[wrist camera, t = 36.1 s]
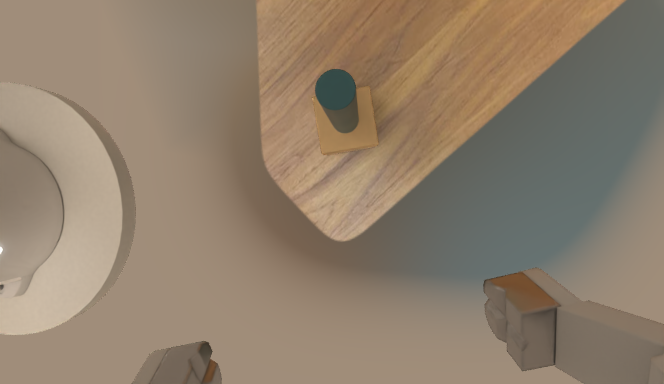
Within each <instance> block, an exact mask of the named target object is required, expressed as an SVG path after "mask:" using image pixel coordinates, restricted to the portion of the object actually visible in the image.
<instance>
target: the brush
mask: <svg viewBox="0 0 664 384" xmlns="http://www.w3.org/2000/svg"><path fill="white" fill-rule="evenodd" d="M315 94H316V96H313V97H312V99H313V105H314V111H315V117H316V123H317V129H318V135H319V141H320V148H321V153H322V154H323V155H333V154H339V153H345V152H351V151H356V150H362V149H368V148H374V147H376V146H378V144H379V141H378V135H377V129H376V122H375V116H374V110H373V104H372V98H371V91H370V86H365V87H360V88H356V85H355V82H354V79H353V78H352V76H351V75H350V74H349V73H347V72H346V71H344V70H340V69H332V70H329V71H327V72H325V73H323V74H322V75H321V76H320V78H319V79H318V81H317V83H316V87H315Z"/></svg>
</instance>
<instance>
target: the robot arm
mask: <svg viewBox="0 0 664 384" xmlns="http://www.w3.org/2000/svg"><path fill="white" fill-rule="evenodd" d="M62 226H63V203H62V198H61V194H60V191H59V188H58V185H57V183H56V181H55V179H54V177H53V175H52V174H51V172H50V171H49V169H48V168H47V167H46V166H45V164H44V163H43V162H42V161H41V160H40V159H38V158H37V157H36V156H35V155H33V154H32V153H30V152H29V151H27V150H25V149H23V148H21V147H19V146H17V145H16V144H14V143H13V142H12V141H11V140H10V139H9V138H8V136H7V135H6V134H5V133H4V132H3V131H2V130H1V129H0V297H2V298H12V297H17V296H21V295H23V294H24V293H25V292H26V290H27V289H28V287H29V284H30V282H31V280H32V277H33V274H34V272H35V271H36V270H37V269H38V267H39V266H41V265H42V264H43V263H44V262H45V261H46V260H47V258H48V257H49V256H50V255H51V253H52V252H53V250H54V249H55V247H56V245H57V243H58V240H59V238H60V235H61V231H62ZM483 286H484V293H485V294H486V295H487V297H488V298H489V299H488V300H487V302H486V303H485V314H486V318H487V321H488V324H489V326H490V328H491V329H492V332H493V333H494V334H495V336H496V337H497V338H498V339H500V340H502V341H504V342H506V343H507V352H508V353H509V354H510V356H511V357H512V358H513V359H514V361H515V362H516V363H517V365H518V366H519V367H520V369H521V370H522V371H526V370H532V369H537V368H542V367H548V366H553V365H555V367H557V368H558V369H560V370H562V371H563V372H565V373H567V374H568V375H570V376H572V377H574V378H575V379H577V380H579V381H580V382H582V383H584V384H664V324H662V323H658V322H656V321H652V320H649V319H646V318H643V317H639V316H636V315H633V314H630V313H627V312H623V311H620V310H617V309H614V308H611V307H608V306H604V305H601V304H598V303H595V302H591V301H584V302H583V301H581V300H580V299H579V298H577V297H576V296H575V295H574V294H572V293H571V292H570V291H568V290H567V289H566V288H565V287H563V286H562V285H561V284H559V283H558V282H557V281H555V280H554V279H553V278H552V277H550V276H549V275H548V274H546V273H545V272H544V271H542V270H541V269H539V268H532V269H528V270H524V271H520V272H518V273H514V274H509V275H505V276H500V277H496V278H491V279H487V280H485V281H484V285H483ZM211 354H212V349H211V347H210V345H209V343H208V342H206V341H202V342H196V343H191V344H187V345H181V346H176V347H171V348H167V349H162V350H157V351H154V352H152V353H151V354H149V356H148V358H147V359H146V361H145V363H144V364H143V366H142V368H141V369H140V371H139V373H138V374H137V376H136V378H135V379H134V381H133V383H132V384H221V380H222V378H221V373H220V369H219V366H218V364H217V363H216V362H215V361H213V360H211V359H210V357H211Z"/></svg>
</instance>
